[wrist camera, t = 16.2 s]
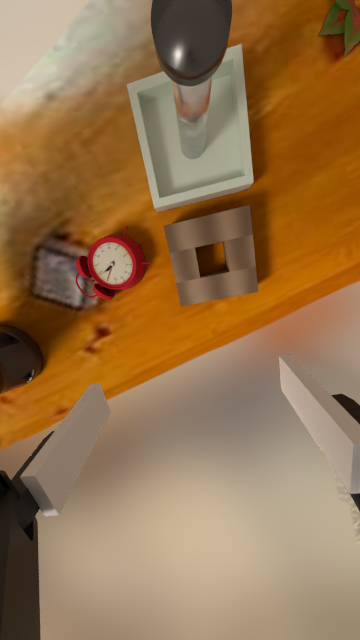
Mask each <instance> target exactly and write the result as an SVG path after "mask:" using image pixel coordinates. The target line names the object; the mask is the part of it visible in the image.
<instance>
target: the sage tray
mask: <svg viewBox="0 0 360 640" xmlns="http://www.w3.org/2000/svg"><path fill="white" fill-rule="evenodd" d="M127 89H128V93H129V98H130V102H131V107H132V111H133V116H134V120H135V125H136V129H137V134H138V138H139V142H140V147H141V151H142V156H143V160H144V165H145V169H146V174H147V178H148V183H149V187H150V192H151V196H152V201H153V205H154V209H155V210H156V211H157V212H162V211H166V210H169V209H173V208H177V207H181V206H185V205H189V204H193V203H197V202H201V201H204V200H208V199H212V198H216V197H220V196H224V195H228V194H232V193H236V192H239V191H243V190H247V189H249V188H250V186H251V185H252V184H253V183H254V180H253V169H252V157H251V146H250V135H249V123H248V112H247V100H246V89H245V78H244V66H243V55H242V44H239V45H236V46H233V47H230V48H227V49H226V52H225V55H224V58H223V60H222V62H221V64H220V66H219V68H218V69H217V71H216V72H215V73H214V74H213V75H212V83H211V94H210V104H209V114H208V125H207V135H206V145H205V150H204V152H203V154H202V155H201V156H200V157H199V158H197V159H188V158H186V157H185V156H184V155H183V153H182V151H181V146H180V139H179V131H178V123H177V116H176V108H175V100H174V93H173V85H172V80H171V79H170V78H169V77H168V76H167V75H166V74H165V72H164V71H163V72H160V73H157V74H154V75H151V76H148V77H146V78H143V79H140V80H137V81H134V82H131V83H129V84H127Z"/></svg>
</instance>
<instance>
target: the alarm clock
mask: <svg viewBox="0 0 360 640" xmlns="http://www.w3.org/2000/svg"><path fill="white" fill-rule="evenodd" d="M125 228H126V229H125V231H124V233H123V235H109V236H107V237H104V238H101V239H99V240H98V241H96V242H95V243H94V244H93V245H92V247H91V248H90V251H89V253H88V258H87V257H85V256H80V257H78V258H77V260H76V267H77V270H78V272H79V273H78V274H77V276H76V284H77V286H78V288H79V289H80V290H81V288H80V287H79V285H78V282H77V278H78V276H79V274H80V275H81V276H83V277H84V278H91V277H92V276H93V278H94V280H92V282H93V283H94V281H95V280H96V281H97V282H98V283H99V284H95V285H94V287H93V291H94V293H95V294H96V295H95V296H88V295H87V294H85V293H84V292H83V291H82V290H81V292H82V293H83V294H84V295H86V296H87V297H90V298H92V297H96V296H99V298H102V299H105V300H110V299H112V298H113V297H114V295H115V294H114V292H112V293H111V294H109V293H107V292H106V291H105V290H104V289H103V288H104V287H106V288H109V289H118V290H125V289H129V288H132V287H133V286H135V285H136V284H138V283H139V281H140V280H141V279H142V277H143V275H144V272H145V264H148V263H149V264H151V262H145V258H144V255H143V252H142V249H143V248H142V247H141V245H140V244H139V245H137V243H136V242H134V241H133V240H132V239H130V238H129V237H126V236H124V235H125V232H126V230H127V229H128V227H127V226H126V227H125ZM87 262H88V267H89V270H88V268H87Z"/></svg>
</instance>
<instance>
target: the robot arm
mask: <svg viewBox="0 0 360 640" xmlns="http://www.w3.org/2000/svg"><path fill="white" fill-rule="evenodd" d="M279 363H280V377H281V390H282V391H283V393H284V394H285V396H286V397H287V399H288V400H289V402H290V403H291V405H292V406H293V408H294V410H295V411H296V413H297V414H298V416H299V417H300V418H301V420H302V422H303V423H304V425H305V426H306V428H307V429H308V431H309V432H310V434H311V435H312V437H313V438H314V440H315V442H316V443H317V445H318V446H319V448H320V449H321V450H322V452H323V454H324V455H325V457H326V458H327V460H328V461H329V463H330V464H331V466H332V467H333V469H334V470H335V472H336V474H337V475H338V477H339V478H340V480H341V481H342V483H343V484H344V486H345V487H346V489H347V490H348V492H349V493H350V494H357V493H360V405H359V404H357V403H356V402H355V401H354V400H353V399H351V398H349V397H347V396H345V395H343V394H337V395H330V394H329V393H328V392H327V391H326V390H325V389H324V388H323V387H322V386H321V384H319V383H318V382H317V380H316V379H315V378H314V377H312V375H311V374H310V373H309V372H308V371H307V370H306V369H305V368H304V367H303V366H302V365H301V364H300V363H299V362H298V361H297V360H296V359H295V358H294V357H293V356H292V355H291V354H288V355H281V356H279ZM42 366H43V359H42V354H41V352H40V349H39V348H38V346H37V344H36V343H35V342H34V341H33V339H32V338H31V337H29V336H28V335H27V334H26V333H24V332H23V331H21V330H19V329H17V328H14V327H10V326H0V394H2V393H4V392H7V391H10V390H13V389H15V388H18V387H21V386H23V385H26V384H27V383H29V382H30V381H32V380H33V379H34V378H36V377H37V376H38V375H39V373H40V372H41V370H42ZM110 413H111V411H110V408H109V406H108V403H107V401H106V398H105V396H104V393H103V390H102V388H101V385H100V383H98V384H92V385H90V386H89V387H88V388H87V390H86V391H85V392H84V394H83V395H82V396H81V398H80V399H79V400H78V401H77V403H76V404H75V405H74V407H73V408H72V409H71V411H70V412H69V413H68V415H67V416H66V417H65V418H64V420H63V421H62V422H61V424H60V425H59V426H58V428H57V429H56V430H55V431H52V432H51V433H50V434H49V435H48V436H47V437H45V438H44V439H43V441H42V442H41V443H40V444H39V446H38V447H37V449H36V450H35V451H34V452H33V453H32V456H30V457H29V458H28V460H27V461H26V462H25V463H24V465H23V466H22V467H21V468H20V470H19V471H18V472H17V473H16V475H15V476H14V477H13V479H12V480H10V478H9V477H8V475H7V474H6V472H5V471H2V470H1V471H0V640H40V607H39V569H38V568H39V566H38V526H37V519H36V518H35V515H36V513H37V512H38V510H39V509H41V511H42V512H43V514H44V516H54V515H59V514H60V512H61V510H62V508H63V506H64V504H65V502H66V500H67V498H68V496H69V494H70V492H71V490H72V488H73V486H74V484H75V482H76V480H77V479H78V477H79V475H80V473H81V471H82V469H83V466H84V464H85V463H86V461H87V459H88V456H89V455H90V453H91V451H92V449H93V447H94V445H95V443H96V441H97V439H98V437H99V435H100V433H101V431H102V429H103V427H104V425H105V423H106V421H107V419H108V417H109V415H110Z"/></svg>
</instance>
